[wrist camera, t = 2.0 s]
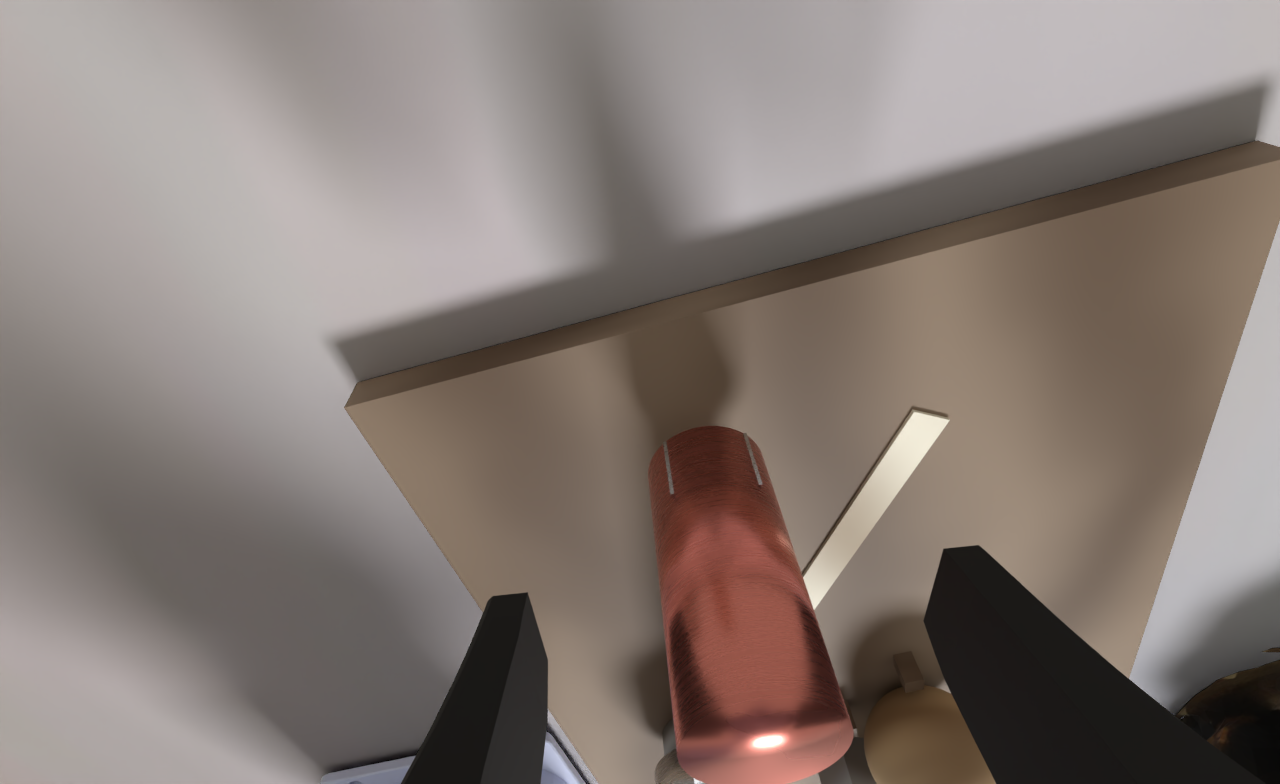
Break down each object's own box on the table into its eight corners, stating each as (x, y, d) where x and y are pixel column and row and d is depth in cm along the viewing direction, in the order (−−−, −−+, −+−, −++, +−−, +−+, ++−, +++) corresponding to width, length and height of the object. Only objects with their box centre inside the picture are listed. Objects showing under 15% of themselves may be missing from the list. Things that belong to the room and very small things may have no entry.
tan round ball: (851, 731, 24) (892, 855, 21) (843, 674, 22) (888, 803, 19) (959, 710, 24) (1018, 833, 20) (962, 650, 21) (1029, 778, 18)
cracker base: (629, 805, 29) (634, 922, 25) (357, 382, 15) (289, 512, 12) (1091, 718, 27) (1165, 832, 23) (1256, 140, 13) (1494, 210, 10)
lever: (777, 790, 24) (826, 1012, 19) (658, 803, 24) (676, 1028, 19) (807, 415, 14) (929, 683, 9) (600, 437, 14) (605, 717, 9)
